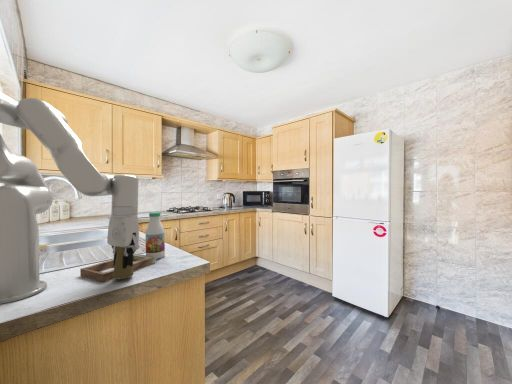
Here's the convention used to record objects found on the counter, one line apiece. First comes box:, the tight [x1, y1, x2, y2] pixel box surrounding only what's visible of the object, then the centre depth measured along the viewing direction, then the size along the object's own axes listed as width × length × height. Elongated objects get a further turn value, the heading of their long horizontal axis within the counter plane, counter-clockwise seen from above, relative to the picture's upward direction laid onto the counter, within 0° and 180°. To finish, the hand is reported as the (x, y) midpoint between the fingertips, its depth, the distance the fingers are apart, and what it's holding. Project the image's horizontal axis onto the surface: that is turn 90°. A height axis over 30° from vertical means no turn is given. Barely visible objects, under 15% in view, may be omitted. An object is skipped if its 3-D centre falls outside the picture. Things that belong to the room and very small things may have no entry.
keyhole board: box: [79, 252, 156, 283], centre depth 81 cm, size 20×13×2 cm, turn 155°
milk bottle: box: [145, 211, 166, 260], centre depth 95 cm, size 8×8×20 cm
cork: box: [112, 244, 134, 280], centre depth 72 cm, size 6×6×11 cm
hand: (123, 265), depth 72 cm, fingers closed on cork, 3 cm apart
